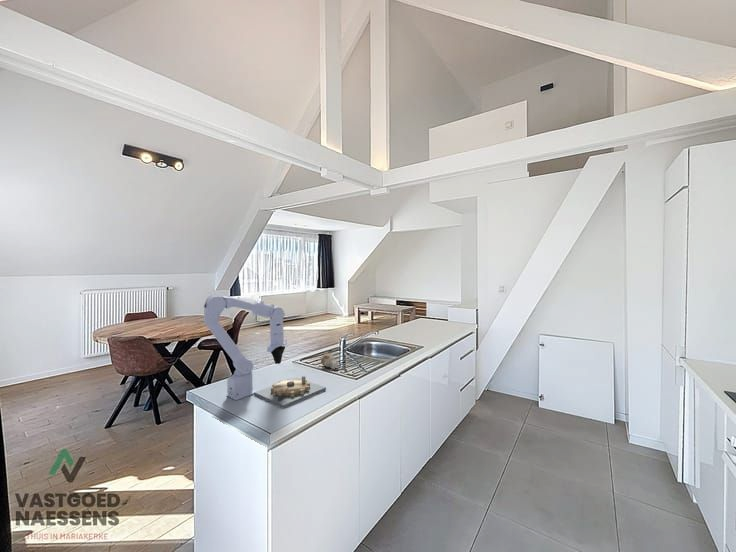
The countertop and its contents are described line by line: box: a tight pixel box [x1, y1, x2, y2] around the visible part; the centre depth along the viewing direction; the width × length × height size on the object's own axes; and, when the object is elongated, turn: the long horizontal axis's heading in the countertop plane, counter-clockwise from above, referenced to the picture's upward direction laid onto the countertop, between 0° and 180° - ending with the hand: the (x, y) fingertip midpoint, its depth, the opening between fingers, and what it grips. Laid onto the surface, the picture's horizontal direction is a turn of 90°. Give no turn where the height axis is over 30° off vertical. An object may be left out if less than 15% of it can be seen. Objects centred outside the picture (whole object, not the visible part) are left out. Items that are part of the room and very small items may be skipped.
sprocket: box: [270, 375, 311, 397], centre depth 131 cm, size 16×16×5 cm
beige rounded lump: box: [320, 352, 341, 370], centre depth 165 cm, size 8×10×10 cm
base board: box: [253, 377, 327, 409], centre depth 131 cm, size 22×20×3 cm
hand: (277, 363), depth 139 cm, fingers closed
